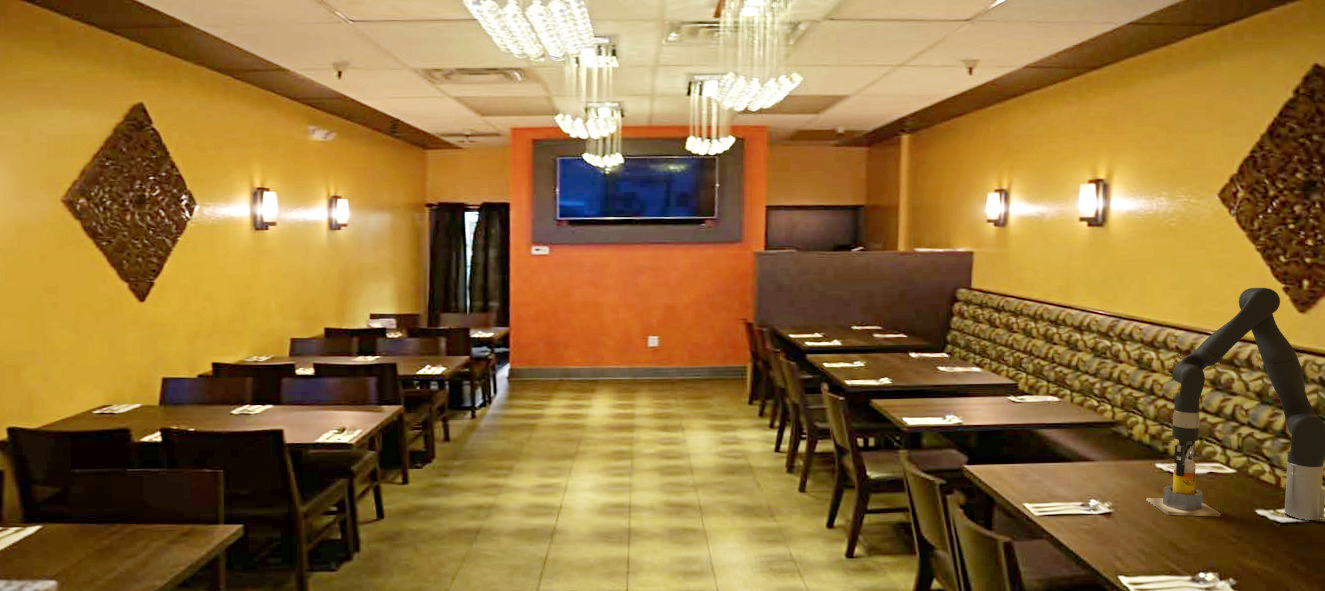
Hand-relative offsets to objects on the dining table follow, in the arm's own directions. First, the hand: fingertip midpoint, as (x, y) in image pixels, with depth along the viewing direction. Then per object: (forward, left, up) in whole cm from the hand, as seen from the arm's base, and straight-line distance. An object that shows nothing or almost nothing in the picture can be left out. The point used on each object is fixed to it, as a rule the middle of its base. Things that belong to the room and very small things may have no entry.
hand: (1183, 473), depth 289 cm
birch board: (0, 0, -12) cm, 12 cm away
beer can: (0, 0, -11) cm, 11 cm away
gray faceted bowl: (0, 0, -12) cm, 12 cm away
